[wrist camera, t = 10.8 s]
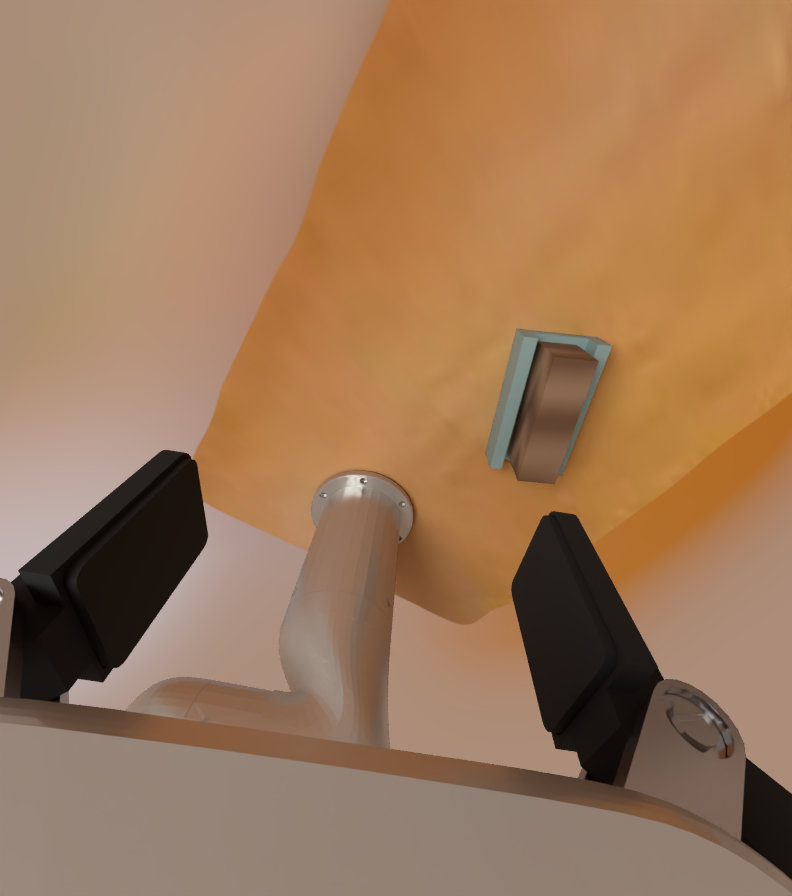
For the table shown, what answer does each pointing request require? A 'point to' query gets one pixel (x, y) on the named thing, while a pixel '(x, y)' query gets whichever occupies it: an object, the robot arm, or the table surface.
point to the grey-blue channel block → (517, 382)
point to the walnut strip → (550, 410)
